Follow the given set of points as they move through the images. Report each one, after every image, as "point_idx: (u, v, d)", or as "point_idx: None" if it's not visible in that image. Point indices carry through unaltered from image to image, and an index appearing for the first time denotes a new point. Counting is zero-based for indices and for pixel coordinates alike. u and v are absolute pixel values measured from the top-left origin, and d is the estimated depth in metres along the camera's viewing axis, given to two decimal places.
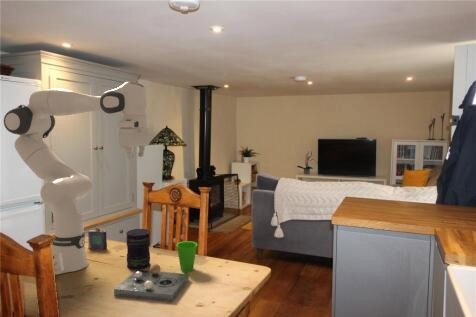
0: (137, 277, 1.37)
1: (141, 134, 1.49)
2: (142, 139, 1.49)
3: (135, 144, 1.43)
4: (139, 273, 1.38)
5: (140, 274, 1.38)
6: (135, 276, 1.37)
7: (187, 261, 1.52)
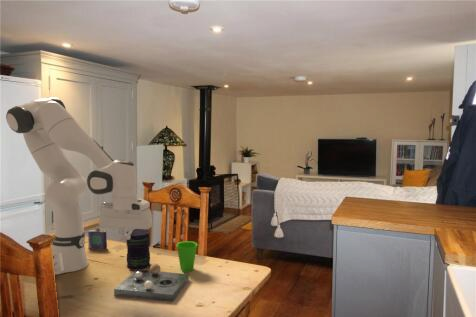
0: (137, 277, 1.37)
1: None
2: None
3: None
4: (139, 273, 1.38)
5: (140, 274, 1.38)
6: (135, 276, 1.37)
7: (187, 261, 1.52)
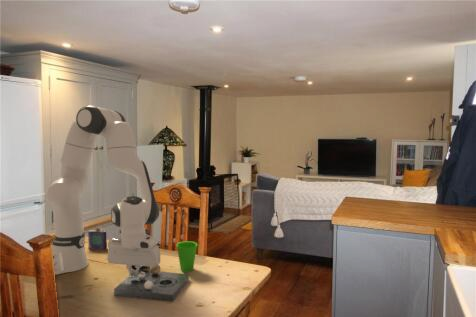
0: (140, 278, 1.37)
1: None
2: None
3: None
4: (144, 276, 1.38)
5: (144, 277, 1.38)
6: (139, 276, 1.37)
7: (187, 261, 1.52)
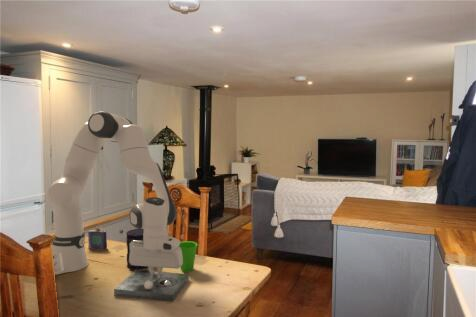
0: None
1: None
2: None
3: None
4: None
5: None
6: None
7: (187, 261, 1.52)
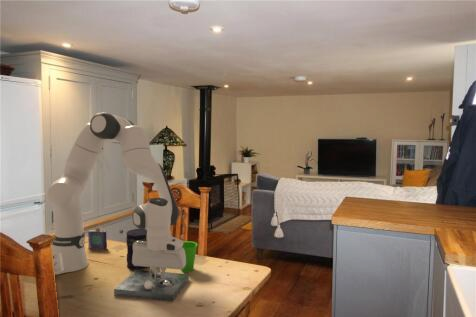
0: None
1: None
2: None
3: None
4: None
5: None
6: None
7: (187, 261, 1.52)
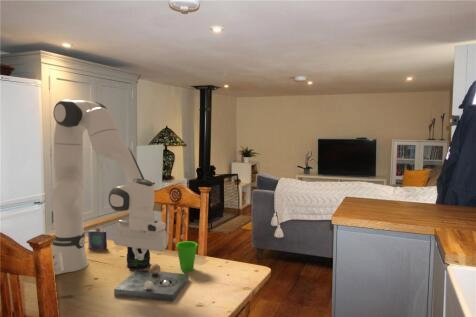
0: None
1: None
2: None
3: None
4: None
5: None
6: (164, 284, 1.35)
7: (187, 261, 1.52)
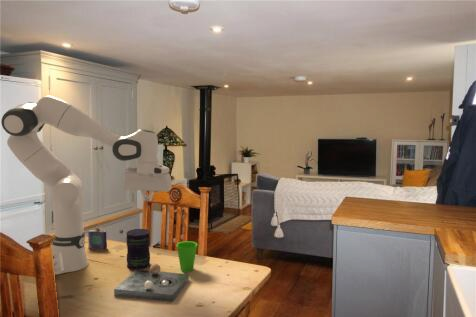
0: None
1: None
2: None
3: None
4: None
5: None
6: (163, 284, 1.36)
7: (187, 261, 1.52)
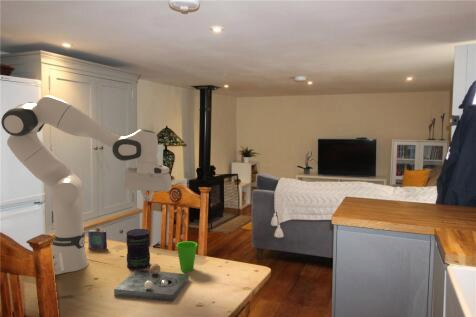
0: None
1: None
2: None
3: None
4: None
5: None
6: (162, 284, 1.36)
7: (187, 261, 1.52)
